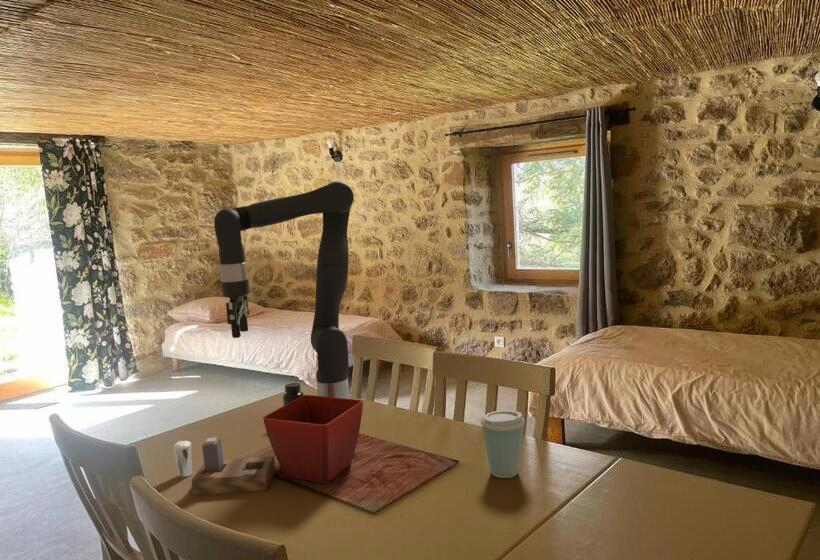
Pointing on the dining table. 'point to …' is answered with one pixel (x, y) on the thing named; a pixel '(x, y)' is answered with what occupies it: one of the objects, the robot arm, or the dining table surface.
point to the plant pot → (315, 436)
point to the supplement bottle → (292, 393)
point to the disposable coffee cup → (503, 441)
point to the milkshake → (183, 458)
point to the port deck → (236, 476)
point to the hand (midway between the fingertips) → (240, 334)
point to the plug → (213, 455)
